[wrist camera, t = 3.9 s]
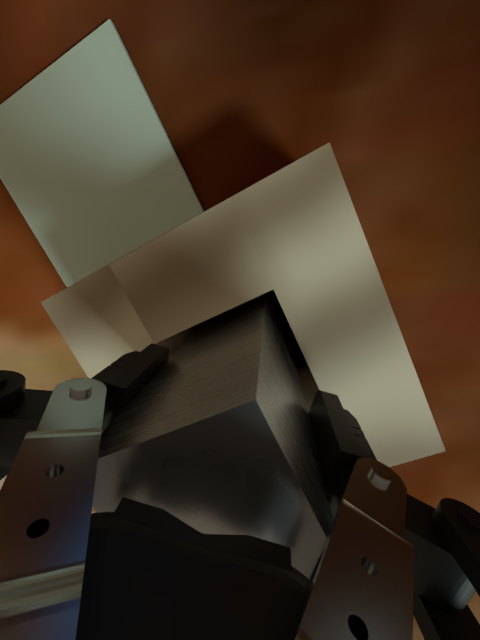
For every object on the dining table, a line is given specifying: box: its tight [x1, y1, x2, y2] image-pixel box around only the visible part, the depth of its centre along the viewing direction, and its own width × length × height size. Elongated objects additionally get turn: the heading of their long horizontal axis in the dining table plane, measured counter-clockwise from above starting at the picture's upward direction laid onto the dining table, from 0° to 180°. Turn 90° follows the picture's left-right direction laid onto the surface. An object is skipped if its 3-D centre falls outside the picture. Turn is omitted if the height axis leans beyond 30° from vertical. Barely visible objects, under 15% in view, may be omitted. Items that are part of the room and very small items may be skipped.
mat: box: [0, 19, 204, 287], centre depth 16 cm, size 10×10×1 cm
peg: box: [92, 294, 333, 578], centre depth 12 cm, size 4×4×12 cm
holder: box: [41, 142, 445, 467], centre depth 15 cm, size 14×14×5 cm
